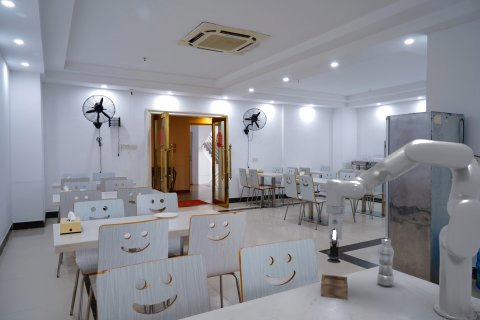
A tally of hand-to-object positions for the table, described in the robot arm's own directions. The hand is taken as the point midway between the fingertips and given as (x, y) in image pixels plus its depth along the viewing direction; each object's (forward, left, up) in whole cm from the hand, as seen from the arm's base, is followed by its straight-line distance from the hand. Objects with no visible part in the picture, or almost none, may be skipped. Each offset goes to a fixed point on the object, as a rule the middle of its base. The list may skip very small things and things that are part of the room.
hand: (334, 253), depth 132 cm
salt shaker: (0, 0, -3) cm, 3 cm away
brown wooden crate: (0, 0, -16) cm, 16 cm away
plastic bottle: (-21, -15, -16) cm, 31 cm away
